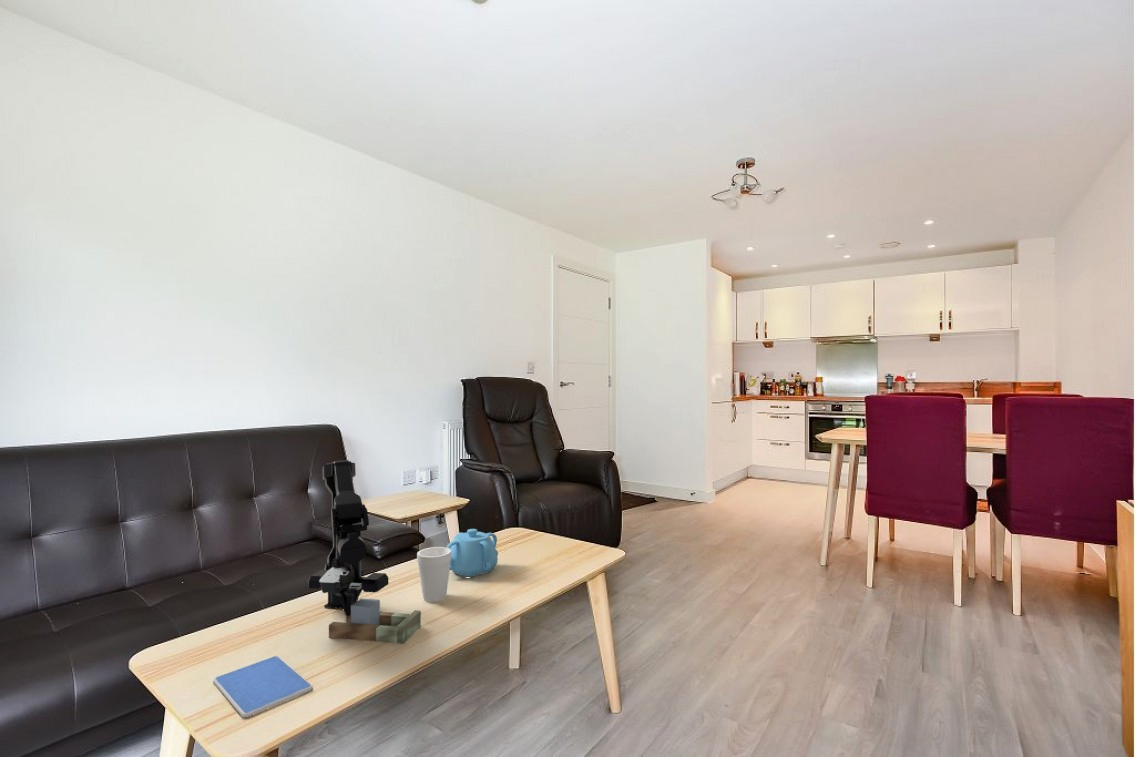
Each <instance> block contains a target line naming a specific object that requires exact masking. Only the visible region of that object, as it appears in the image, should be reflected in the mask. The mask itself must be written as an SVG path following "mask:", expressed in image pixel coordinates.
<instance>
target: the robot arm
mask: <svg viewBox="0 0 1135 757" xmlns="http://www.w3.org/2000/svg"><path fill="white" fill-rule="evenodd" d="M356 472H357V471H356V462H352V461H351V460H350V461H349V460H347V459H346V460H335V461H333V462H327V463H326V464H325V465H323V466H322V480H323V481H324V483H325V488H326V489H327V490H328V491H329V493H330V494H331V509H330V510H331V511H330V516H331V527H332V528H331V529H332V549H331V550H330V553H329V554H328V556H327V559H326V560H327V563H325V564H324V569H321V570H319V571H318V572H316V573H313V574H311V575H310V576H309V578H308V580H307V585H308V586H307V587H308V589H315V590H317V589H321V593H322V594H326V593H327V603H326V604H324V605H323V607H324V608H330V609H342V610H343V611H344V614H345V617H346V616H350V615H351V605H353V604H354V603H356V602H357V601H358V600H359V597H360V595H361V593H362V591H363V593H378V592H379V591H381V590H382V589H383V588H385V587H387V586H388V585H389V576H388V574H387V573H386V572H385V573H384V572H383V573H381V572H372V573H371V574H369V575H367V576H362V575H364V574H365V570H364V568H363V569H362V560H363V559H364V558H365V556H366V554H367V546H366V543H365V542H364V539H363V537H362V534H361V532H365V531H367V530H368V527H369V526H370V525H369V524H370V519H369V515H368V514H369V513H368V508H367V507H366V505H365V504H363V500H362V498H361V495H359V494H357V493H356V492H355V488H354V483H353V481H354V480H353V479H354V478H355V477H356V475H357V474H356Z"/></svg>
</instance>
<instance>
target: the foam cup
mask: <svg viewBox="0 0 1135 757" xmlns="http://www.w3.org/2000/svg"><path fill="white" fill-rule="evenodd" d="M446 547H447V546H446ZM446 547H444V546H436V547H435V546H433V547H428V548H423V549H421V550H419V551H417V553H416V562H417V564H418V565H417V566H418V570H419V571H418V572H419V579H420V585H421V586H420V587H421V592H422V593H421V594H422V600H423V599H424V600H423V601H424V602H426V603H437V602H441V601H444V600H446V598H447V593H448V586H449V585H448V584H449V577H450V570H449V569H450V561H451V550H450V549H449V548H446Z"/></svg>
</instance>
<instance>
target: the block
mask: <svg viewBox="0 0 1135 757" xmlns="http://www.w3.org/2000/svg"><path fill="white" fill-rule="evenodd" d="M380 602H381V599H376V598H362V597H361V598H360V599H358V600H357V602H356V603H354V604H353V605H351V623H358V624H371V625H380V612H381V606H380V604H381V603H380Z"/></svg>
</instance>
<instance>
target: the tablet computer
mask: <svg viewBox="0 0 1135 757" xmlns="http://www.w3.org/2000/svg"><path fill="white" fill-rule="evenodd" d="M212 683H213V684H214V686H216V688H218V690H219V692H221V694H223V696H225V698H226V699H227V700H228V702H229V703H230V704H231V705H232V707H234V709H235V710H236V711H237V712H238V714H239V715H240V716H241V717H242V718H245V717H247V718H249V717H248V716H250V717H252V716H251V715H253V714H255V715H257V714H256V713H258V712H260V713H262V712H261V711H263V710H265V709H267V708H270V707H272V708H274V707H273V706H275V705H277V704H279V705H281V704H280V703H282V702H284V703H286V702H288V701H287V700H289V701H290V699H291V700H293V699H295V698H294V697H296V698H298V697H300V696H302V695H304V694H306V693H309V692H310V691H312V690H313V684H311V683H310V682H309V681H308V680H307V679H305V677H303V676H302V675H300V673H298V672H297V671H296V670H295V669H294V668H293V667H292V666H290V665H289V664H288V663H287V662H286V661H285V660H283V659H282V658H281V657H280V656H277V655H275V656H272V657H269V658H266V659H263V660H260V661H258V662H255V663H252V664H250V665H247V666H243V667H240V668H238V669H235V670H233V671H230V672H227V673H224V674H221V675H219V676H216V677H215V678H213V681H212ZM301 694H302V695H301ZM299 695H300V696H299ZM297 696H298V697H297ZM292 698H293V699H292ZM285 701H286V702H285ZM282 704H283V703H282ZM277 706H278V705H277ZM275 707H276V706H275ZM270 709H271V708H270ZM267 710H268V709H267ZM265 711H266V710H265ZM263 712H264V711H263ZM258 714H259V713H258ZM253 716H254V715H253Z"/></svg>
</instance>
